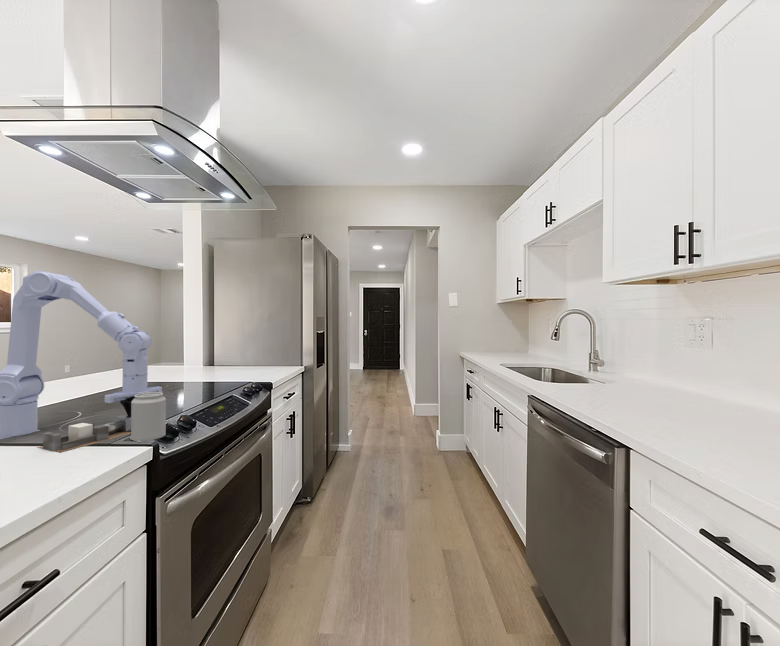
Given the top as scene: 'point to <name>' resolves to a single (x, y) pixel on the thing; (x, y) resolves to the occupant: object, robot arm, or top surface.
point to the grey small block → (120, 424)
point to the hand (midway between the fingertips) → (134, 423)
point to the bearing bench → (62, 444)
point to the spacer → (80, 431)
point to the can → (148, 416)
